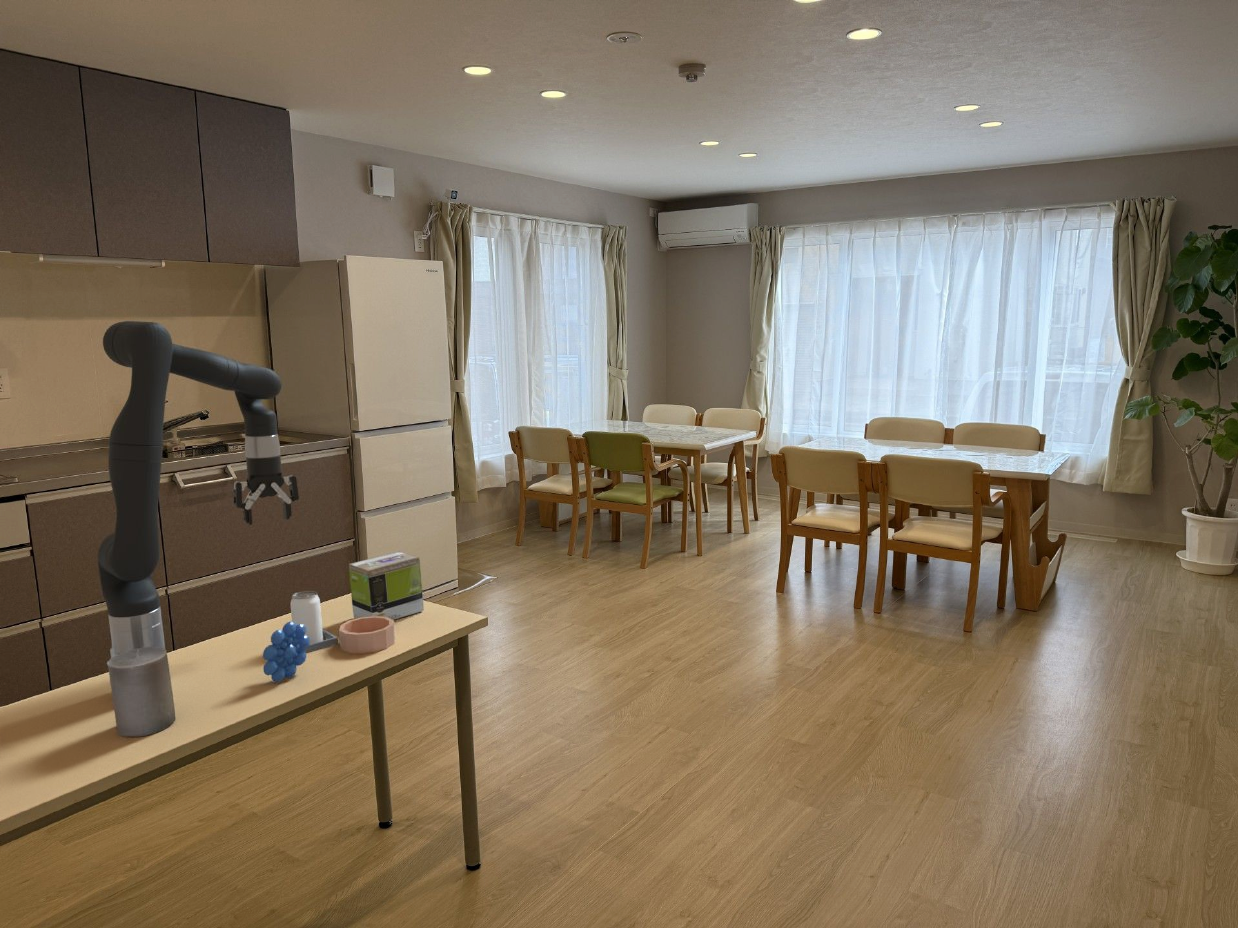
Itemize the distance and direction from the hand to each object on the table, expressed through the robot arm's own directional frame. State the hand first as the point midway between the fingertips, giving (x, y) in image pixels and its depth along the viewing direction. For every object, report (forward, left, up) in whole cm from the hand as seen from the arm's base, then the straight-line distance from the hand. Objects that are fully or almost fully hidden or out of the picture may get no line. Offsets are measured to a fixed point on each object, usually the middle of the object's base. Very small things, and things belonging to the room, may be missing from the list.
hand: (268, 521), depth 200 cm
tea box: (+25, -7, -28) cm, 39 cm away
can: (+2, -12, -28) cm, 31 cm away
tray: (+2, -12, -28) cm, 30 cm away
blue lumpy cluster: (-9, -28, -28) cm, 41 cm away
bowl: (+12, -22, -28) cm, 38 cm away
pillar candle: (-37, -31, -28) cm, 56 cm away
